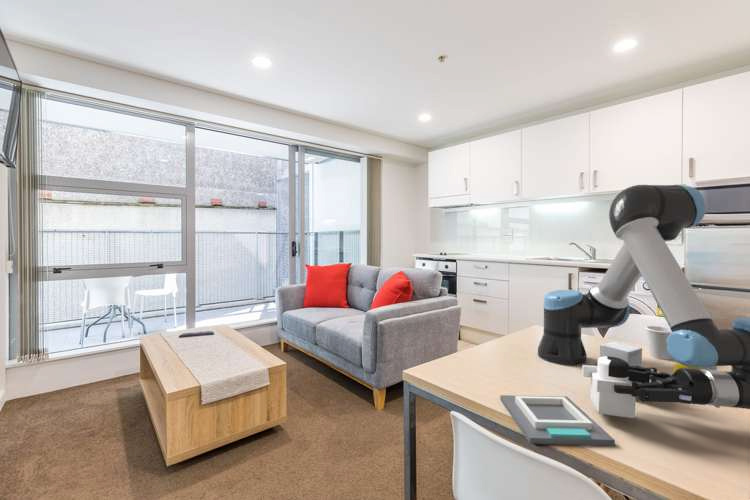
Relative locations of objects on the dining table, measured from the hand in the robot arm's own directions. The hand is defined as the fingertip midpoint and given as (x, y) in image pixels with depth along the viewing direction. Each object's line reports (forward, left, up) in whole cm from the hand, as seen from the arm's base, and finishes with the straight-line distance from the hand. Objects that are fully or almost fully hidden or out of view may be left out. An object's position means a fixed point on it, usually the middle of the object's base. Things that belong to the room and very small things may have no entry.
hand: (589, 377), depth 82 cm
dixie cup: (-41, +48, -9) cm, 64 cm away
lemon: (-17, +37, -9) cm, 42 cm away
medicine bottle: (+1, +5, -7) cm, 9 cm away
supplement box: (-13, +16, -9) cm, 23 cm away
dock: (+3, -10, -9) cm, 14 cm away
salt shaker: (-24, +48, -9) cm, 54 cm away
